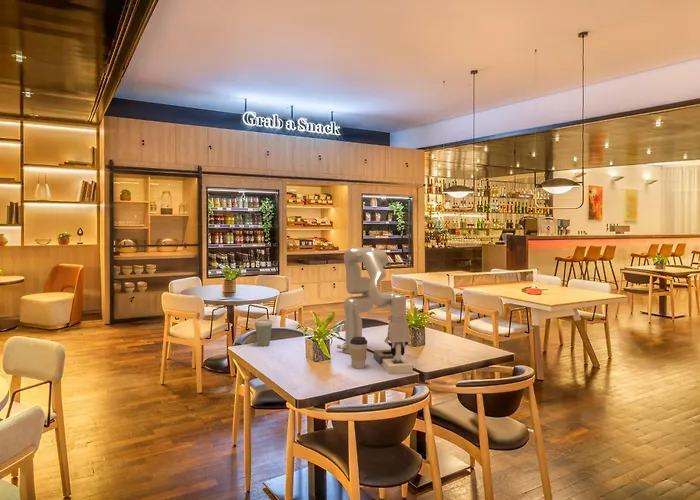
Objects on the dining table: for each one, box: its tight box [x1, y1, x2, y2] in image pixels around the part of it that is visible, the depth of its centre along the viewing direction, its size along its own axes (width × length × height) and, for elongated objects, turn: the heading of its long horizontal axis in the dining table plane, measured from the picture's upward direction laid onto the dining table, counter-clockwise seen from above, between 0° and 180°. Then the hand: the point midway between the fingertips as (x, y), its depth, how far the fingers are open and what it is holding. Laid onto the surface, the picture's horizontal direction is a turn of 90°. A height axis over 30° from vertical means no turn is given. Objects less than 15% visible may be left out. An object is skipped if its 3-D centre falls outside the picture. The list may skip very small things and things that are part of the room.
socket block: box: [381, 357, 414, 375], centre depth 246 cm, size 12×12×4 cm
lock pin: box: [394, 342, 403, 364], centre depth 246 cm, size 4×4×12 cm
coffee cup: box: [350, 336, 368, 370], centre depth 251 cm, size 9×9×15 cm
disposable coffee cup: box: [254, 318, 273, 347], centre depth 290 cm, size 11×11×15 cm
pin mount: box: [373, 349, 394, 365], centre depth 263 cm, size 12×12×4 cm
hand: (397, 354), depth 246 cm, fingers closed on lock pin, 4 cm apart
